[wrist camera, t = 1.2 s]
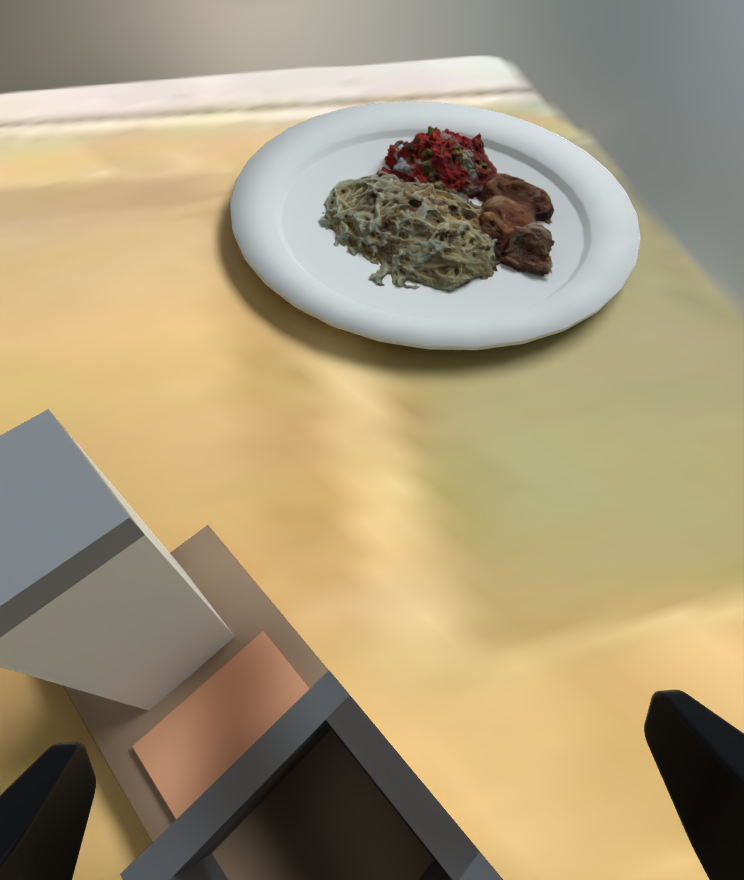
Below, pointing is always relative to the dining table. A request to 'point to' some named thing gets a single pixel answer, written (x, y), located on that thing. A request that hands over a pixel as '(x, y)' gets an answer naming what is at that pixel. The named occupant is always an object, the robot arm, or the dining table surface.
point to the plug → (90, 579)
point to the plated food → (434, 225)
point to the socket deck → (269, 761)
